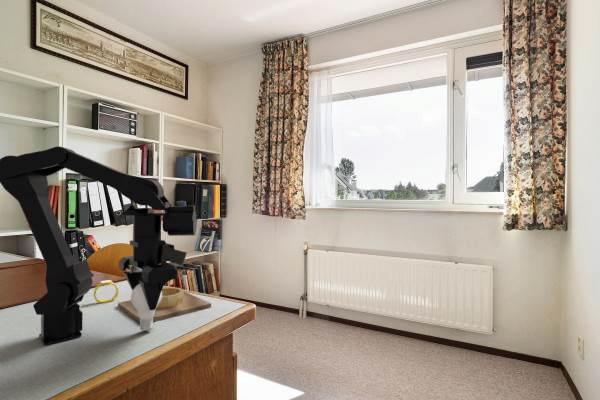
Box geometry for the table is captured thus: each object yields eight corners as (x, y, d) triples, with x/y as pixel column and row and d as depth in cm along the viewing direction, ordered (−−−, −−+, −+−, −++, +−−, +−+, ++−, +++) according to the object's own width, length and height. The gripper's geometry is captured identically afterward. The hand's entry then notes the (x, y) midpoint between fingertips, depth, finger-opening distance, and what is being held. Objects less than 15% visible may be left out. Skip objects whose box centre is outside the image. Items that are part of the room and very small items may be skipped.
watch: (94, 305, 91) (93, 284, 91) (94, 303, 93) (92, 282, 93) (119, 300, 95) (117, 280, 94) (117, 298, 97) (116, 278, 97)
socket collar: (153, 311, 83) (153, 299, 83) (139, 302, 90) (139, 291, 90) (189, 303, 90) (189, 292, 90) (173, 295, 97) (174, 285, 97)
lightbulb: (123, 333, 72) (124, 282, 72) (149, 323, 77) (149, 277, 77) (143, 339, 69) (143, 286, 69) (168, 328, 74) (168, 280, 74)
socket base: (142, 324, 77) (142, 320, 77) (117, 306, 90) (117, 302, 90) (211, 306, 90) (211, 303, 90) (181, 293, 103) (181, 290, 103)
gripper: (201, 236, 72) (201, 308, 72) (165, 230, 85) (164, 290, 85) (149, 241, 64) (148, 321, 64) (118, 233, 77) (117, 299, 77)
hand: (146, 306), depth 73 cm, fingers closed on lightbulb, 6 cm apart
